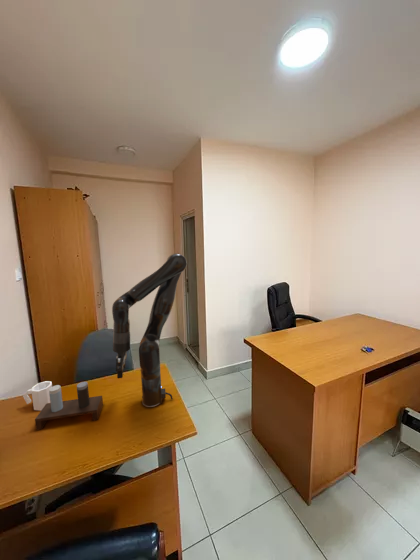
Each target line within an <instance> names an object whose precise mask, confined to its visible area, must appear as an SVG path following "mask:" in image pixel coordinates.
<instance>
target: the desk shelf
mask: <svg viewBox="0 0 420 560" xmlns="http://www.w3.org/2000/svg"><path fill="white" fill-rule="evenodd" d="M103 400H104V399H103V395H97V396H89V401H90V404H89V405H88V406H87V407H84V408H80V407H79V404H78V398H76V399H75V398H74V399H70V400H63V408H62V409H61V410H59V411H57V412H52V411H51V404H50V403H47V404H46V405H45V406H44V408H43V409H42V410H41V411H39V413H38V414H37V416H36V417H35V418H34V422H35V423H34V424H35V430H36V431H37V430H42V429H43V428H44V426H45V425H46V423H47V421H49V420H55V419H62V418H69V417H73V416H81V415H87V414H91V417H92V421H99V420H98V419H99V417H100V415H101V411H102V410H103V407H104V401H103Z"/></svg>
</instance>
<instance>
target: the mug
mask: <svg viewBox="0 0 420 560" xmlns="http://www.w3.org/2000/svg"><path fill="white" fill-rule="evenodd" d="M51 387H53V383H52V381H50V380H45V381H42V382H38V383H36V384H35V385H33V386H32V387H31V388H29V389H27V391H26V392H25V393H24V394H23V396H22V398H23V400H24V401H25V403H26V405H29V404H30V403H32V405H33V411H39V412H41V410H42V409H43V408H44V406H45V405H46V404H47V403H50V396H49V389H50V388H51ZM30 393H31V398H32V399H31V398H30V395H29V394H30Z"/></svg>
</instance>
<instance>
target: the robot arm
mask: <svg viewBox="0 0 420 560" xmlns="http://www.w3.org/2000/svg"><path fill="white" fill-rule="evenodd" d="M187 266H188V261H187V258H186V257H185V256H184V255H183V254H181V253H178V252H177V253H176V252H175V253H172V254H170V255H169V256H167V259H166V260H165V262H164V263H163V264H162V265H161V267H159V268H158V269H157V270H155V271H154V272H152V273H151V274H150V275H148V276H146V277H145V278H143V279H142V280H140V281H139V282H138V283H136V284H135V285H133V287H131V288H130V289H129V290H128V291H126V292H125V293H123V294H122V295H120V296H119V297H117V298H116V300H115V301H113V303H112V307H111V313H112V320H113V326H112V327H113V333H112V351H113V352H114V353H116V357H115V372H116V377H117V379H123V377H124V369H126V366H127V365H126V364H127V363H126V362H127V357H128V355H127V353H128V351H130V349H131V322H130V318H129V317H130V308H132V307H133V306H134V305H136V304H137V303H138V302H141V301H142V300H144V299H145V298H147V297H148V296H149V295H150V294H151V293H153V292H154V291H156V289H157V288H158V289H157V292H156V294H155V296H154V299H153V302H152V304H151V309H150V313H149V319H148V323H147V326H146V328H145V330H144V333H143V335H142V338H141V340H140V342H139V346H138V360H139V367H140V381H141V399H142V406H144V407H146V408H148V409H149V408H156V407H158V406H159V405H162V404H163V399H166V398H167V395H168V396H169V397H170V400H173V398H174V397H173V395H172V394H171V393H170V392H166V387H165V388H162V387H163V386H162V376H161V374H162V373H161V358H160V356H161V354H160V340H161V335H162V331H163V328H164V326H165V324H166V323H167V320H168V319H169V317H170V314H171V312H172V309H173V306H174V303H175V298H176V293H177V287H178V282H179V280H180V277H181V275H182V273H184V271H185V270H186V269H187Z"/></svg>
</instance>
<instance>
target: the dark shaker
mask: <svg viewBox="0 0 420 560" xmlns="http://www.w3.org/2000/svg"><path fill="white" fill-rule="evenodd" d="M76 393H77V399H78V404H79V407H80V408H84V407H87V406H88V405H89V404H90V401H89V397H90V392H89V383H88V382H87V381H81V382H79V383H78V384H77V385H76Z"/></svg>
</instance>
